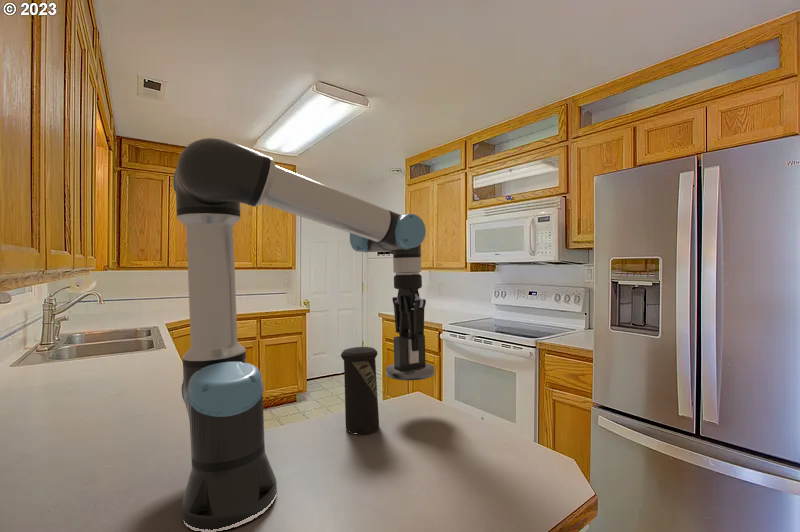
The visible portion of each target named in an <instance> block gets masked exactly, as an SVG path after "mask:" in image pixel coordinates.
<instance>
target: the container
mask: <svg viewBox="0 0 800 532" xmlns="http://www.w3.org/2000/svg"><path fill="white" fill-rule="evenodd" d="M340 356H341V359H342V360H343V372H344V373H343V375H344V407H345V409H344V411H345V416H344V417H345V421H344V422H345V430H346V429H347V430H348V431H350V432H352V433H357V434H364V435H369V434H373V433H376V432H377V431H378V430H379V429H380V418H379V417H380V416H379V402H378V401H379V400H378V386H377V385H378V383H377V382H378V381H377V366H376V365H377V364H376V358H377V356H378V351H377V350H376V349H375V348H373V347H370V346H355V347H354V346H353V347H350V348H349V347H348V348H346V349H344V350H343V351H342V352H341V353H340ZM347 430H346V431H347ZM348 431H347V432H348ZM352 433H351V434H352ZM357 434H356V435H357Z"/></svg>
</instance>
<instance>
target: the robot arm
mask: <svg viewBox="0 0 800 532" xmlns="http://www.w3.org/2000/svg"><path fill="white" fill-rule="evenodd" d="M173 190H174V191H175V192H174V193H175V200H176V201H175V203H176V204H175V205H176V218H177V220H178V221H179V222H181V223H182V224H183V225H184V226H185V229H186V232H185V233H186V256H187V281H188V283H187V284H188V306H189V310H188V311H189V333H190V335H189V336H190V347H189V349H188V350H187V351H186V352H185V353H184V354H183V355H182V375H183V376H182V378H183V379H182V384H181V396H182V399H183V402H184V404H185V407H186V411H187V414H188V415H187V416H188V419H189V436H190V453H191V471H190V474H189V477H188V481H187V484H186V487H185V491H184V494H183V497H182V501H181V507H180V508H181V519H182V518H183V520H184V521H185V523H187V524H188V525H190V526H192V527H195V528H199V529H204V530H205V529H208V530H209V529H210V530H213V529H219V528H222V527H226V526H230V525H232V524H235V523H237V522H240V521H242V520H244V519H246V518H248V517H250V516H252V515H255V514H257V513H258V512H260V511H262V510H263V509H264V508H266V507H267V506H268V505H269V504H270V503H271V501H272V500H273V499H274V497H275V495H276V493H277V494H278V486H277V483H278V482H277V479H276V476H275V473H274V470H273V468H272V466H271V464H270V460H269V459H268V456H267V453H266V447H265V445H266V443H265V421H264V420H265V419H264V398H263V397H264V396H263V394H264V393H263V392H264V382H263V379H262V374H261V371H260V369H259V368H258V367H257V366H256V365H254V364H252V363H249V362H247V355H246V354H247V353H246V352H247V351H246V350H247V349H246V347H245V346H243V345H242V344H241V343H240V342H239V341H238V323H237V321H238V319H237V318H238V317H237V297H236V294H237V293H236V275H235V274H236V269H235V245H234V242H235V241H234V226H235V225H236V224H237V223H238V222H239V221H240V220H241V204H244V205H248V206H250V207H254V208H257V207H259V206H261V205H266V206H268V207H272V208H275V209H277V210H280V211H283V212H286V213H289V214H292V215H296V216H297V217H298V216H299V217H301V218H304V219H307V220H311V221H313V222H316V223H319V224H323V225H326V226H328V227H331V228H334V229H337V230H341V231H342V232H346V233H349V242H350V246H351V248H352V249H353V250H354V251H355V252H358V253H359V252H361V253H365V254H366V253H380V252H381V253H382V252H384V253H386V252H387V253H388V252H389V253H390V252H391V253H392V255H393V256H392V263H393V265H392V266H393V273H394V274H395V275H394V276H393V288H394V289H396V290H397V296H393V297H392V303H393V309H394V310H393V312H394V313H393V314H394V325H395V333H397V334H398V335H399V336H405V335H410V337H407V338H408V358H409V364H413V363H418V362H419V352H418V350H419V338H420V337H422V336H424V335H425V307H426V303H427V300H426V298H423V299H422V298H421V296H420V291H419V289H421V288H422V287H423V280H422V279H423V276H422V274H420V273H421V272H422V245H421V244H422V243H423V242H424V240H425V237H426V231H427V230H426V224H425V223H424V221H423V219H422V218H421V217H420V216H419V215H417V214H415V213H403V214H400V213H397V212H394V211H392V210H390V209H389V210H388V209H387V208H384V207H381V206H378V205H376V204H373V203H371V202H369V201H366V200H364V199H361V198H358V197H356V196H354V195H351V194H348V193H345V192H343V191H342V190H341V191H340V190H339V189H336V188H333V187H331V186H328V185H326V184H323V183H321V182H318V181H316V180H313V179H311V178H308V177H306V176H304V175H300V174H298V173H295V172H293V171H291V170H288V169H286V168H284V167H280V166H278V165H276V164H275V162H274V160H273V158H272V157H271V156H269V155H268V156H267V155H265V154H264V153H260V152H258V151H255V150H254V149H252V148H251V149H250V148H248V147H245V146H243V145H241V144H238V143H235V142H231V141H228V140H225V139H221V138H214V137H211V138H210V137H208V138H207V137H206V138H202V139H197V140H195V141H193V142H191V143H190V144H188V145H187V146H186V147H185V148H183V150H182V151H181V154H180V155H179V158H178V162H177V167H176V168H175V171H174V174H173Z"/></svg>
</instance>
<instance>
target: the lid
mask: <svg viewBox="0 0 800 532" xmlns="http://www.w3.org/2000/svg"><path fill="white" fill-rule="evenodd" d="M407 337H410V335H405V336H400V335H399V336H393V362H394V363H392V364H389V365H387V366H386V367H385V376H387V378H390V379H393V380H397V381H419V380H421V381H422V380H425V379H429V378H431V377H433V376H434V375H435V366H434V365H433V364H431V363H427V361H426V335H425V334H424V336H422V337H420V338H419V350H418V352H419V362H418V363H413V364H409V358H408V338H407Z"/></svg>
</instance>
